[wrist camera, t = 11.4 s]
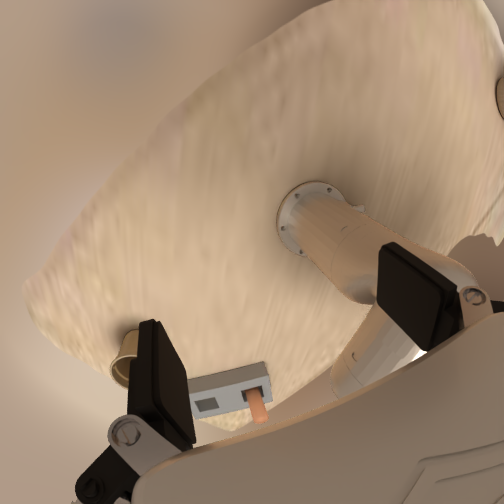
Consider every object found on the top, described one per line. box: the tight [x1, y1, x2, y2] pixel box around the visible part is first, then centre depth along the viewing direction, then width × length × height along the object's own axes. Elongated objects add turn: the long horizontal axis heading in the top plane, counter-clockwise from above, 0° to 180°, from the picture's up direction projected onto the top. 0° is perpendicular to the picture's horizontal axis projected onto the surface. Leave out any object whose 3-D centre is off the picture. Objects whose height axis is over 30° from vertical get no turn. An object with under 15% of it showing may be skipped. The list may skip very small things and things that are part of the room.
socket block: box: [187, 362, 273, 419], centre depth 57 cm, size 18×10×4 cm, turn 98°
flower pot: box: [110, 330, 139, 390], centre depth 45 cm, size 9×9×9 cm
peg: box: [245, 386, 269, 424], centre depth 55 cm, size 3×3×11 cm
